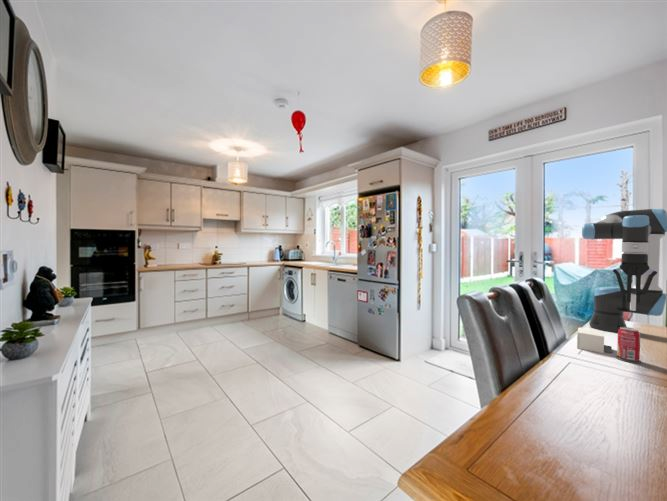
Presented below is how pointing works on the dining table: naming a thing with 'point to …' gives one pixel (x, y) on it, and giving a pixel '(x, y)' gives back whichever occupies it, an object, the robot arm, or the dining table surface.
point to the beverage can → (628, 344)
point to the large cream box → (590, 340)
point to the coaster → (629, 360)
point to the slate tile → (607, 349)
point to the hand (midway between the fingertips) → (632, 310)
